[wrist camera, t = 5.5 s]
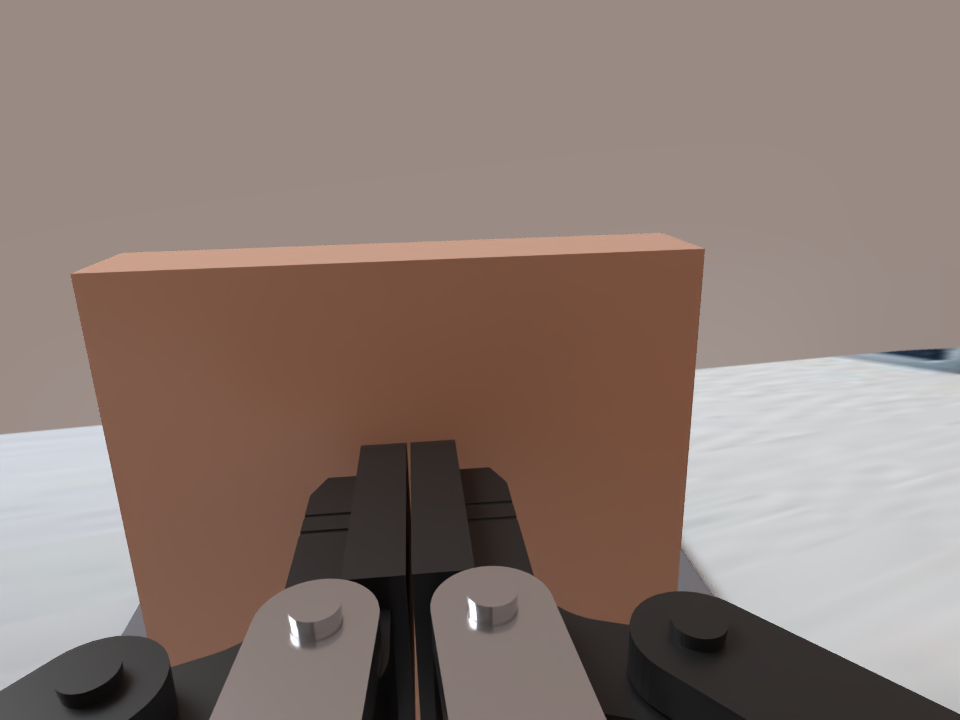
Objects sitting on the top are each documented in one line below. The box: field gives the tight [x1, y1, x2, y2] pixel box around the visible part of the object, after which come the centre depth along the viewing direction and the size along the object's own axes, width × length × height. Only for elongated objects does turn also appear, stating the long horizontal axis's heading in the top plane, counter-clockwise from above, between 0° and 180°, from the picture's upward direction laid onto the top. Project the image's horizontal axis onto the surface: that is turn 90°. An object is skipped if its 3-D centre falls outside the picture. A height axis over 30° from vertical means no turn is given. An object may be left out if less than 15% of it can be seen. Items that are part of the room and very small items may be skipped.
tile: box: [71, 233, 705, 720], centre depth 14 cm, size 10×2×12 cm, turn 96°
